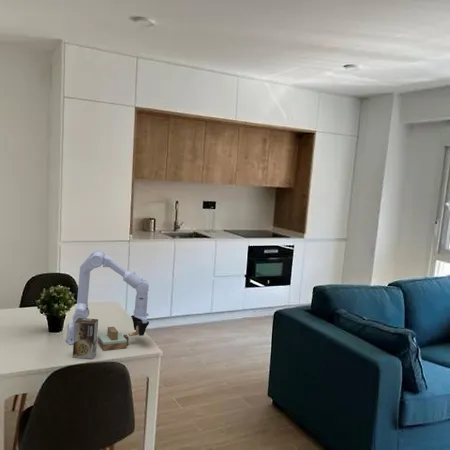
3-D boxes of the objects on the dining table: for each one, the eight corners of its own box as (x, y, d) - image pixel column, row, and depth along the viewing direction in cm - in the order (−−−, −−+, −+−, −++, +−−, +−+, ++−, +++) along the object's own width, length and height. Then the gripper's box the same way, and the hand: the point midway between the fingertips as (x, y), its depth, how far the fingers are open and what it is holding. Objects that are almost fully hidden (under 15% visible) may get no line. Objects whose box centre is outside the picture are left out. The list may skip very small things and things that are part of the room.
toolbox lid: (103, 344, 206) (104, 334, 205) (97, 336, 214) (98, 326, 214) (126, 342, 211) (127, 332, 211) (120, 334, 220) (121, 324, 219)
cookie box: (96, 353, 203) (99, 319, 201) (92, 359, 196) (95, 323, 195) (76, 351, 202) (78, 317, 201) (71, 357, 196) (74, 322, 194)
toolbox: (102, 350, 206) (103, 342, 206) (97, 342, 215) (98, 334, 214) (130, 347, 213) (130, 339, 212) (123, 340, 221) (124, 332, 221)
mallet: (129, 336, 215) (130, 328, 215) (128, 334, 218) (128, 326, 218) (141, 335, 218) (142, 327, 218) (139, 333, 221) (140, 325, 221)
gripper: (154, 309, 213) (151, 337, 215) (144, 300, 226) (141, 326, 227) (139, 310, 210) (137, 338, 211) (130, 301, 222) (128, 328, 224)
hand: (138, 332), depth 219 cm, fingers open, 7 cm apart
